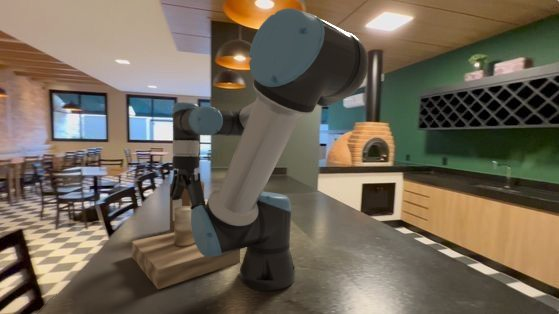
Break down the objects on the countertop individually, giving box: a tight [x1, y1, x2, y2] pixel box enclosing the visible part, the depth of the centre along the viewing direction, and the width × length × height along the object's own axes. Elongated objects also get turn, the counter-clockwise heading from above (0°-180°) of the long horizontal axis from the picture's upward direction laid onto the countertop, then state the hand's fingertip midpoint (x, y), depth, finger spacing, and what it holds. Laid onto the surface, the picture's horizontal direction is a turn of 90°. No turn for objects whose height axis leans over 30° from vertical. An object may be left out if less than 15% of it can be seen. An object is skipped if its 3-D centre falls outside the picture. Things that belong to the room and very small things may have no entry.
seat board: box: [131, 198, 241, 290], centre depth 83 cm, size 24×24×16 cm
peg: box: [174, 206, 195, 248], centre depth 83 cm, size 6×6×16 cm
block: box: [169, 180, 205, 233], centre depth 108 cm, size 10×10×20 cm
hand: (186, 224), depth 82 cm, fingers open, 13 cm apart
